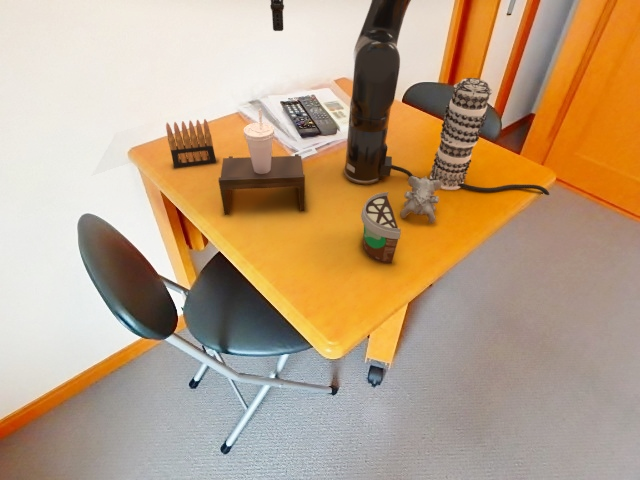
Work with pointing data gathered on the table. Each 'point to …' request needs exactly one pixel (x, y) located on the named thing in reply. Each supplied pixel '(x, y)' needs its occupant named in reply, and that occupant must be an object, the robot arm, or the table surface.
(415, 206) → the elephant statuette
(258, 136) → the smoothie
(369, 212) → the food container
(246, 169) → the stand
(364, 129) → the robot arm
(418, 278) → the table surface
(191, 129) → the ammunition clip
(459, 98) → the white patterned cylinder
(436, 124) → the table surface
